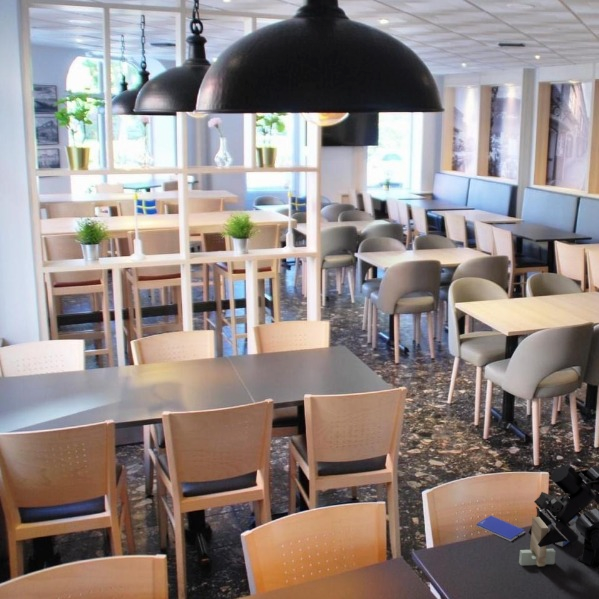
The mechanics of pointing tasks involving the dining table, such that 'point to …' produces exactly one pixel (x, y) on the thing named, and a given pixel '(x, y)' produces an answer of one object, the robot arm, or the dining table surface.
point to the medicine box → (573, 526)
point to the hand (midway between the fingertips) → (534, 539)
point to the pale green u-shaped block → (528, 559)
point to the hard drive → (500, 528)
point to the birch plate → (538, 540)
